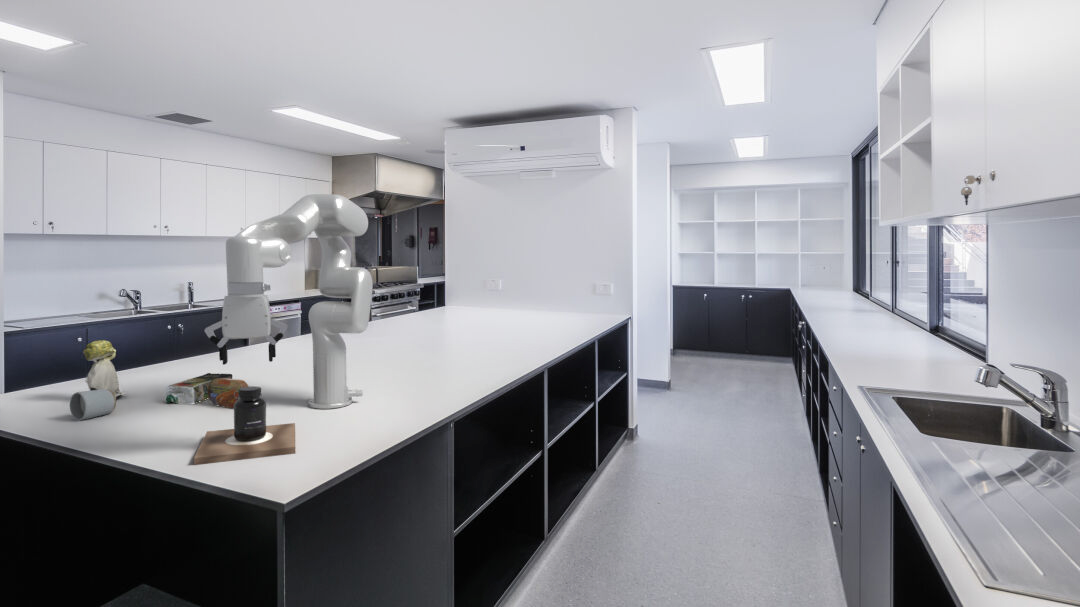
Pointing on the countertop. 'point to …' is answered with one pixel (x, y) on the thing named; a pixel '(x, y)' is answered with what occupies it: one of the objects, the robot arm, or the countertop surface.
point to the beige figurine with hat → (102, 367)
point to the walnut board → (245, 445)
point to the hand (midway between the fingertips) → (248, 362)
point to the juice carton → (192, 389)
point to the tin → (225, 391)
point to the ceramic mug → (92, 403)
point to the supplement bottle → (249, 415)
